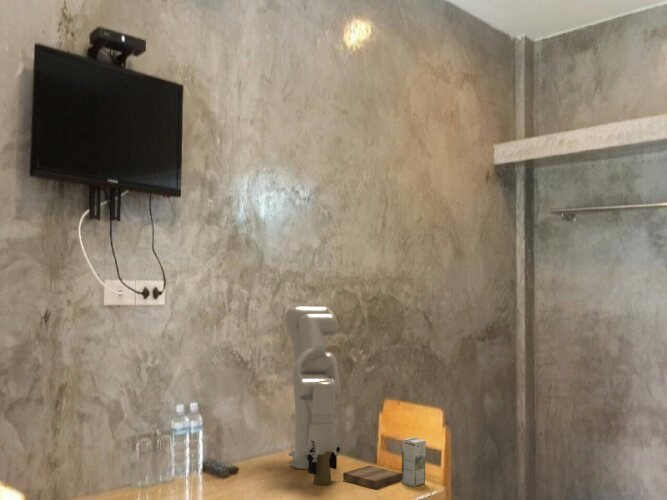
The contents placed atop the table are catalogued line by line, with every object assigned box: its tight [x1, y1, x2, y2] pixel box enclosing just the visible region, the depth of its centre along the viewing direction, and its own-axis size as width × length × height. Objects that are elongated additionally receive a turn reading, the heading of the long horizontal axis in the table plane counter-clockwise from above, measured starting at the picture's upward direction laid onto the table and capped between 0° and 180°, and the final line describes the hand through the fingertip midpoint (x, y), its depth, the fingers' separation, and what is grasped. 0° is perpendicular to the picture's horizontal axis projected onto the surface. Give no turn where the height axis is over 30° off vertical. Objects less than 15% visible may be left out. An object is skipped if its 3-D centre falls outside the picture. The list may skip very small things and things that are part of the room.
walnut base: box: [342, 464, 402, 490], centre depth 212 cm, size 14×14×2 cm
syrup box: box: [400, 437, 427, 487], centre depth 210 cm, size 6×6×14 cm
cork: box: [313, 451, 333, 486], centre depth 209 cm, size 6×6×11 cm
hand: (322, 471), depth 209 cm, fingers open, 9 cm apart
